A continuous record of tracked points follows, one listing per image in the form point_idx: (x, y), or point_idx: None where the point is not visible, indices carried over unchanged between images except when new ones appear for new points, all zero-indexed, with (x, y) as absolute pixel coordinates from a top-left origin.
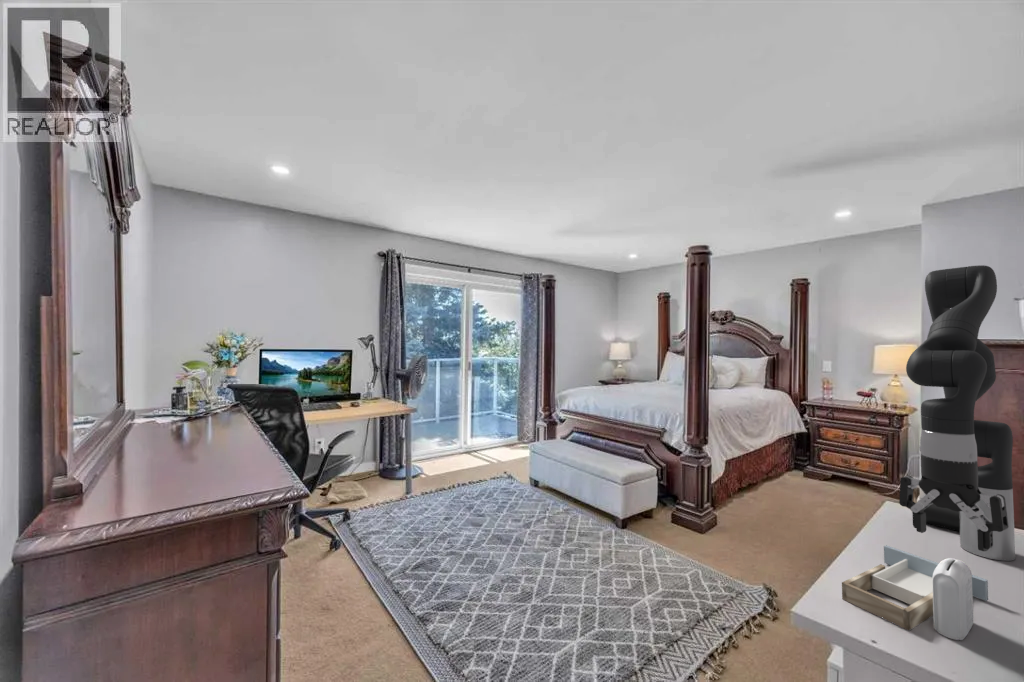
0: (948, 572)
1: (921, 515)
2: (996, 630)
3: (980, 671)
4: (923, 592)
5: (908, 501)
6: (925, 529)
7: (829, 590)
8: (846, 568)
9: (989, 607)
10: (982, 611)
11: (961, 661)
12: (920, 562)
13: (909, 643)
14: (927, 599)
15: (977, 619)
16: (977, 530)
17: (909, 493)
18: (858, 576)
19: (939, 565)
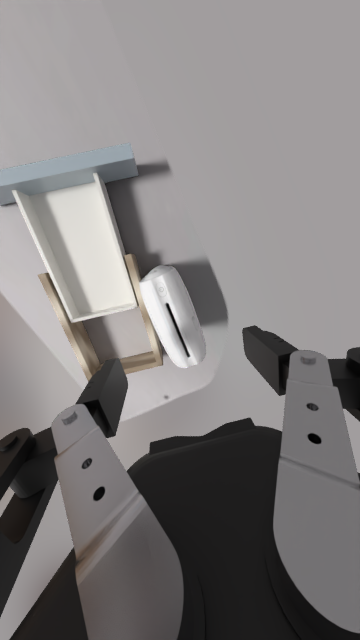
0: (193, 360)
1: (113, 424)
2: (188, 254)
3: (222, 349)
4: (108, 264)
5: (39, 483)
6: (117, 362)
7: (76, 367)
8: (14, 293)
9: (149, 188)
10: (154, 215)
11: (208, 351)
12: (34, 182)
13: (177, 370)
14: (147, 315)
15: (166, 249)
16: (278, 394)
17: (3, 554)
18: (75, 348)
19: (171, 350)
